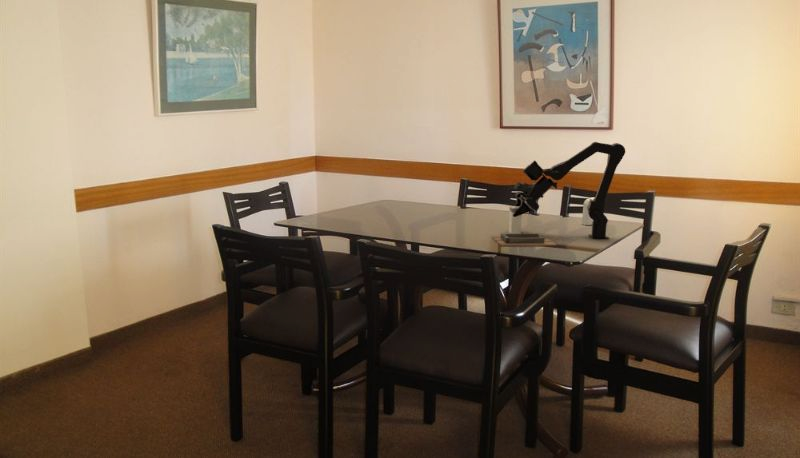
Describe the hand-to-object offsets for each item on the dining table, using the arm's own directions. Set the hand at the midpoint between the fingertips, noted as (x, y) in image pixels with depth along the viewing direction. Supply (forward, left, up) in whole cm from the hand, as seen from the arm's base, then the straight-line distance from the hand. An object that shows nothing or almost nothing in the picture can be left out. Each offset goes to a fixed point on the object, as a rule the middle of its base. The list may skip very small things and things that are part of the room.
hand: (512, 215), depth 295 cm
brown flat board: (-15, -1, -8) cm, 17 cm away
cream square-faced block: (0, -1, -8) cm, 8 cm away
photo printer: (+24, -43, -8) cm, 50 cm away
